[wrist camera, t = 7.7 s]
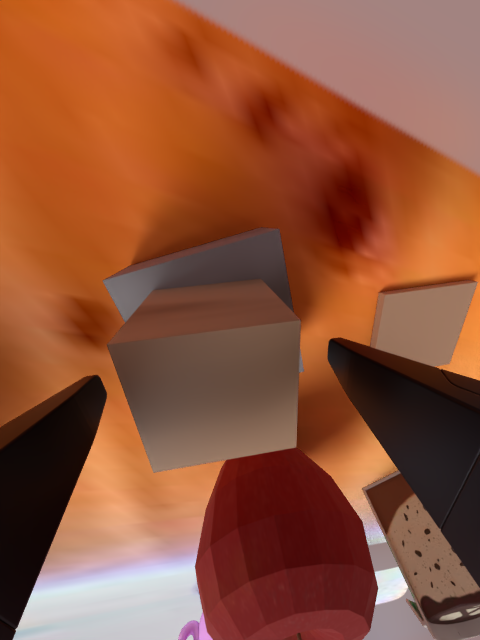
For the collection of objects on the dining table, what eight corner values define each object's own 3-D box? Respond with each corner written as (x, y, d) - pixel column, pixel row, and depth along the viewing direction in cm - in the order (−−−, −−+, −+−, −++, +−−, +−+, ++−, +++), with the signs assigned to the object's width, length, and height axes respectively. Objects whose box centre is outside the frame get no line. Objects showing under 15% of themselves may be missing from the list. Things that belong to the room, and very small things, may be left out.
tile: (442, 359, 19) (449, 363, 19) (365, 372, 19) (370, 377, 18) (468, 280, 16) (478, 281, 16) (379, 292, 16) (385, 295, 15)
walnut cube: (264, 366, 13) (296, 447, 8) (174, 379, 12) (153, 472, 8) (260, 278, 11) (300, 320, 6) (152, 290, 10) (106, 344, 6)
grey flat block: (283, 338, 17) (303, 371, 13) (180, 369, 17) (172, 410, 13) (260, 227, 13) (279, 228, 10) (131, 264, 13) (102, 280, 10)
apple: (325, 405, 20) (464, 623, 9) (306, 482, 24) (385, 692, 13) (197, 415, 18) (182, 688, 7) (201, 495, 22) (196, 742, 12)
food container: (366, 515, 28) (440, 653, 19) (350, 494, 26) (427, 641, 17) (458, 471, 27) (585, 597, 18) (450, 444, 24) (594, 575, 15)
